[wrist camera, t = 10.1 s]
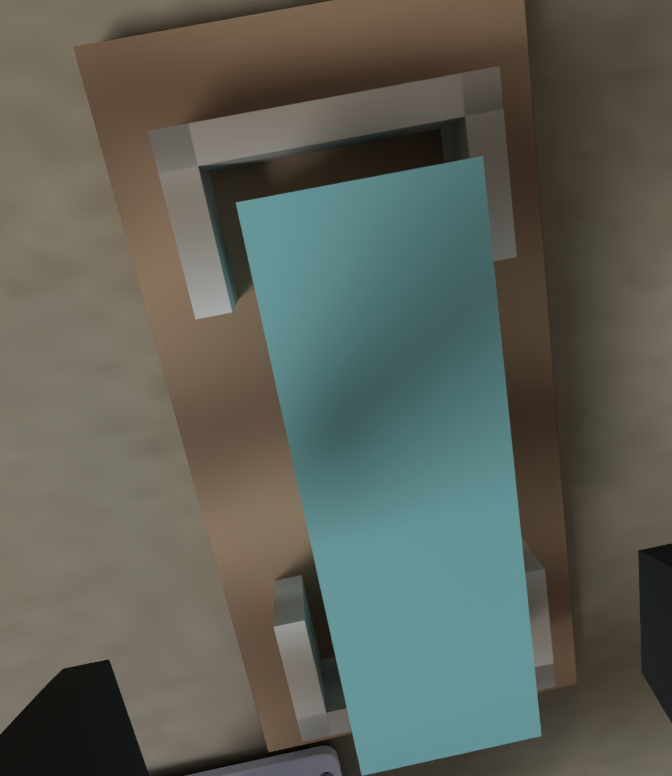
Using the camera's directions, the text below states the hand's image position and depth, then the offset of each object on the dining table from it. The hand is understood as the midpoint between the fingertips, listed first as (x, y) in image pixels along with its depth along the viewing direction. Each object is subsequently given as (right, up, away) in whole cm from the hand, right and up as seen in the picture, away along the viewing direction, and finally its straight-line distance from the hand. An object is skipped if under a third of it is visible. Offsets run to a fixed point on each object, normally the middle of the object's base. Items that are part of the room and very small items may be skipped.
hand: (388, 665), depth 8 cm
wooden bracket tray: (0, +3, +9) cm, 9 cm away
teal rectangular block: (0, +3, +8) cm, 8 cm away
